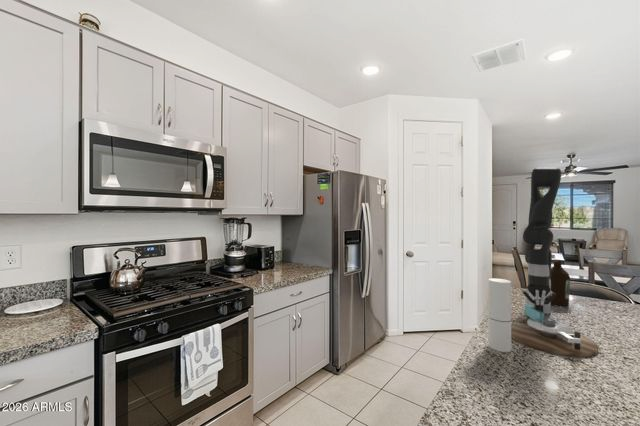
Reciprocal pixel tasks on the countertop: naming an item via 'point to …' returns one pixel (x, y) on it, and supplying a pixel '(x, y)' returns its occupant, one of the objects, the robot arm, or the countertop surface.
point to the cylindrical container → (500, 314)
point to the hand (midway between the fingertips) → (538, 313)
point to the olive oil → (560, 284)
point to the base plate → (553, 342)
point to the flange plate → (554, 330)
